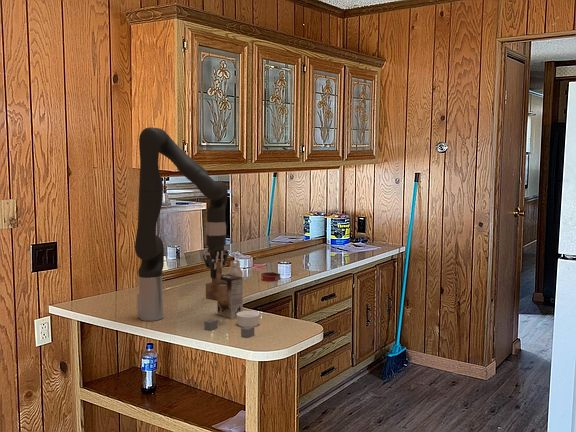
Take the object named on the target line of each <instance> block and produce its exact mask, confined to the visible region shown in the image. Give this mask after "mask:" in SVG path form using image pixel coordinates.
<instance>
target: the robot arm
mask: <svg viewBox="0 0 576 432" xmlns="http://www.w3.org/2000/svg"><path fill="white" fill-rule="evenodd" d="M139 134H140V135H139V137H138V147H139V180H138V181H139V184H138V186H139V187H138V198H137V199H138V205H137V206H138V207H137V208H138V209H137V228H136V236H135V242H134V253H135V254H136V256H137V257H138V258H139V260H141V262H140V266H139V268H138V271H137V272H138V273H137V274H138V294H137V296H136V299H137V300H136V301H137V318H138V319H140V320H142V321H145V322H152V321H158V320H162V319H163V318H164V299H163V297H164V296H163V295H164V293H163V292H164V291H163V287H164V286H163V270H164V266H165V265H164V263H165V250H164V249H165V248H164V247H165V245H164V242H163V240H162V238H161V237H160V236H158V235H157V224H158V223H157V222H158V219H159V216H160V213H161V210H162V206H163V201H164V198H163V197H164V184H163V179H162V176H161V173H160V168H159V155H160V154H161V155H163V156H164V157H166V158H168V159H169V161H171V162H172V163H173V165H174V166H175V167H176V169H177V170H178V171H179V173H181V174H182V176H184V177H185V178H186V179H187V180H188V181H190V183H192V184H193V185H195V186H196V188H197V189H198V190H199V191H200V192H201V193H202V194H203V196H204V197H206V199H208V200H210V201H209V202H210V203H209V206H208V208H207V209H206V225H205V226H206V228H205V230H206V233H205V236H206V238H205V240H206V242H205V243H206V244H205V245H206V246H207V253H205V254H202V258H203V261H204V264H205V266H206V268H208V269H210V278H211V280H212V279H216V265H217V263H218V261H221V275H223V274H222V268H224V267H223V266H226V263H227V261H228V257H229V253H230V251H229V250H226V249H225V246H226V245H227V224H226V208H227V203H228V198H229V195H228V194H229V190H228V186H227V184H226V183H225V182H223V181H221V180H214V179H213V178H212V177H211V176H210V175H209V172H208V171H207V170H206V168H204V167H203V166H201V164H199V163H198V162H197V161H196V160H194V159H193V158H192V157H190V156H189V155H188V154H187V153H186V152H185V151H184V150H183V149H181V147H180V146H178V144H177V143H176V142H175V141H174V140H173V139H172V138H171V136H170V135H169V134H168V133H167V132H166V131H165V130H164V129H162V128H159V127H150V126H149V127H146V128H144V129H143V130H141V132H140V133H139ZM213 263H214V266H213Z"/></svg>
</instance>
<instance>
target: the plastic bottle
mask: <svg viewBox="0 0 576 432" xmlns="http://www.w3.org/2000/svg"><path fill="white" fill-rule="evenodd" d="M229 265H230V267H229V269H228V270H227V273H226V274H231V275H235V276H239V277H243V270H242V269H241V267H240V260H236V259H235V260H230V264H229ZM243 305H244V297H243V298H242V306H243Z"/></svg>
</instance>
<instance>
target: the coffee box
mask: <svg viewBox="0 0 576 432" xmlns="http://www.w3.org/2000/svg"><path fill="white" fill-rule="evenodd" d="M243 278H244V277H243V276H242V277H239V276H235V275H231V274H227V273H226V274H222V275H221V284H224V285H227V300H226V301H223V302H221V301H216V302H217V305H216V306H217V307H216V308H217V315H219V316H221V317H225V318H229V319H235V318H236V319H237V315H236V314H237V313H238V312H242V311H243V305H242V298H243V299H244V297H243V294H244V293H243V289H244V286H243V285H244V284H243Z"/></svg>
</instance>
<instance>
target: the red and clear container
mask: <svg viewBox="0 0 576 432" xmlns="http://www.w3.org/2000/svg"><path fill="white" fill-rule="evenodd" d="M263 266H264V267H265V268H266V269H268V270H269V271H270V272H269V271H268V272H262V273H261V274H260V275H261V276H260V277H261V278H260V279H261V281H262V282H267V283H270V282H271V283H272V282H273V283H274V281H275V282H279V281H278V280H280V281H281V273H280V272H277V271H275V270H272V269H270V268H268V267H267V266H266V265H265V264H263Z"/></svg>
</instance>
